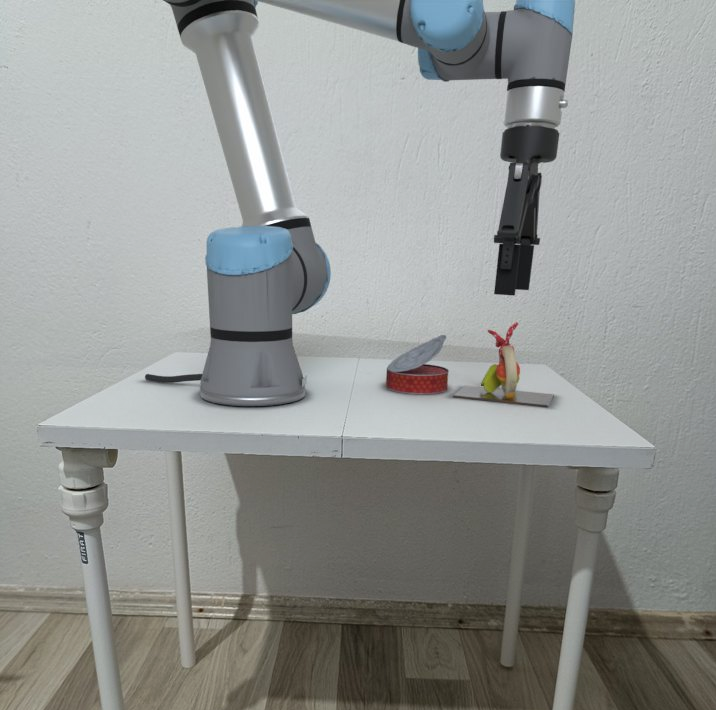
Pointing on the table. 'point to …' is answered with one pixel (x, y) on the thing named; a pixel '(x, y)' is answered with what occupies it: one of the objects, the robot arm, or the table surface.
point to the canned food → (418, 370)
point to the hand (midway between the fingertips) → (512, 292)
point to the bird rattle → (503, 367)
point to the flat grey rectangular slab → (499, 396)
